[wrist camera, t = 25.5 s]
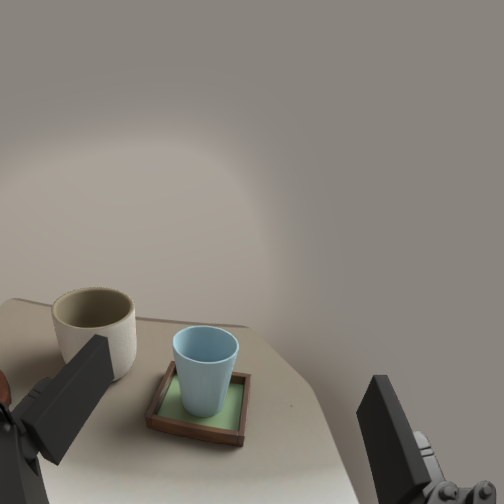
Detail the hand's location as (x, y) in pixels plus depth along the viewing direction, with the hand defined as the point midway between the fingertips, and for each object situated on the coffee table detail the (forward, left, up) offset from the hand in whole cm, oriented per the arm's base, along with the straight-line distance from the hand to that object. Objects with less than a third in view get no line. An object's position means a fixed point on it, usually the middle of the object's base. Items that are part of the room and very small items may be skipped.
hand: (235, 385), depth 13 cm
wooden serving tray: (+4, -17, -21) cm, 28 cm away
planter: (+21, -20, -21) cm, 37 cm away
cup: (+4, -17, -21) cm, 27 cm away
